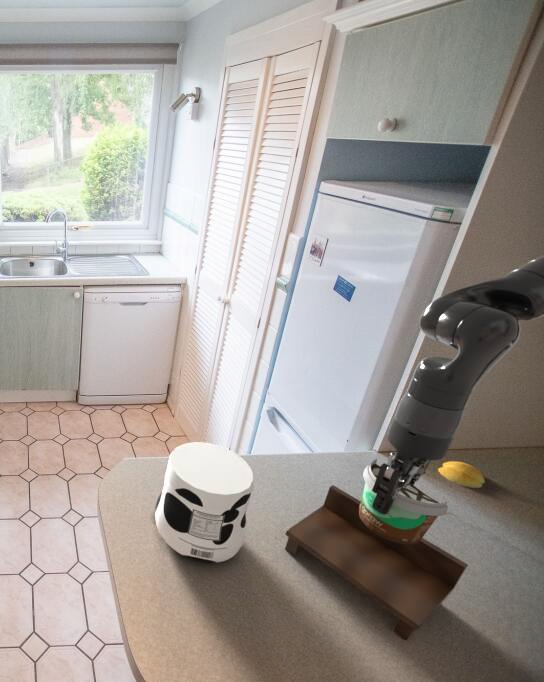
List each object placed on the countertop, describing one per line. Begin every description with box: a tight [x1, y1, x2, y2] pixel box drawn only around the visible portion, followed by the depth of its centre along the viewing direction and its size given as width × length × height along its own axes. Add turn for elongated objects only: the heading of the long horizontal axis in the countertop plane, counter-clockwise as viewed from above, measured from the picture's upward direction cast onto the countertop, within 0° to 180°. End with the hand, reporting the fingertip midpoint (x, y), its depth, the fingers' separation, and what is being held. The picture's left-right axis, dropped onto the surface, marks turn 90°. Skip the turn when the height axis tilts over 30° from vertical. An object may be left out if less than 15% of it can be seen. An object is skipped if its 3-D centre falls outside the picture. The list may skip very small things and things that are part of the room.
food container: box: [359, 458, 449, 544], centre depth 78 cm, size 12×6×10 cm, turn 21°
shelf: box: [284, 484, 469, 642], centre depth 83 cm, size 22×14×10 cm, turn 31°
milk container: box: [154, 441, 254, 564], centre depth 90 cm, size 17×17×18 cm
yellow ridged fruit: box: [437, 461, 486, 489], centre depth 107 cm, size 8×9×4 cm
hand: (389, 502), depth 78 cm, fingers closed on food container, 6 cm apart
